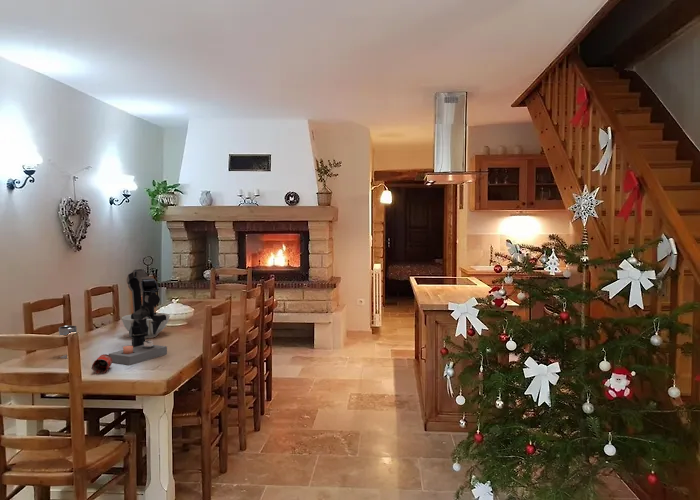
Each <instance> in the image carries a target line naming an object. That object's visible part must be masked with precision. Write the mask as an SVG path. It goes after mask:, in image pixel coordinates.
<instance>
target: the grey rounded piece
mask: <svg viewBox="0 0 700 500" xmlns="http://www.w3.org/2000/svg"><path fill="white" fill-rule="evenodd" d="M153 345H154V340H145V341H144V348H145V349H150V348H153Z"/></svg>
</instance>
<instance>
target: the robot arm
mask: <svg viewBox="0 0 700 500" xmlns="http://www.w3.org/2000/svg"><path fill="white" fill-rule="evenodd" d="M126 284H127V287H128V288H129V291H131V299H132V309H133V310H132V311H133V312H132V313H131V314H132V315H131V314H130V315H131V319H133V321H132V323H131V327H130V330H129V331H128V337H129V338H131V346H133V347H137V346H140V345H144V341H146V338H145V336H147V335H148V329H149V327H148V325H147V322H146V320H147V319H152V320H153V321H152V322H151V323H152V325H153V334H156V332H157V330H158V327H159V325H160V324H161V322H163V321H164V320H166V315H163V314H158V315H156V313H157V312H155V307H157V305H158V304H159V303H160V301H161V298H160V296H159V295H158V294H156V293H159V290H160V288H159V284H158V282H157V280H156V279H155V278H154V277H152V276H151V277H150V276H149V275H148V274H147V273H146V272H145V269H142V268H141V269H140V268H139V269H137V268H136V269H134V270H133V271H132V272H130V273H128V275H127V277H126ZM146 318H147V319H146Z"/></svg>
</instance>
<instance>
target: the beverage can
mask: <svg viewBox="0 0 700 500" xmlns="http://www.w3.org/2000/svg"><path fill="white" fill-rule="evenodd" d="M112 364H113V363H112V358H111V357H110V356H109V354H101V355H99V356H98V357H97V359H95V360H94V361H93V363H92V364H91V370H92V371H93V372H94V373H95V374H97V375H100V374H105V373H106V372H108V370H109V369H110V367H111V366H112ZM103 369H105V370H103ZM102 371H103V372H102ZM101 372H102V373H101Z"/></svg>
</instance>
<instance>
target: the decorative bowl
mask: <svg viewBox="0 0 700 500" xmlns="http://www.w3.org/2000/svg"><path fill="white" fill-rule="evenodd" d="M155 313H156V315H158V314H163V315H166V320H164V321H163V322H161V324H160V325H159V327H158V330H157V332H156V334H153V325H152V323H151V322H152V321H153V320H152V319H147V318H146V319H147V320H146V322H147V325H148V327H149V329H148V335H147V336H145V339H151V338H152V339H153V338H156V337H157V336H158V334H159V333H161V332H162V331H163V330H164V329H165V328H166V326H167V324H168V323H169V320H170V316H171V315H170V314H168V313H165V312H155ZM131 315H132V313H131V314H126V315H123V316H122V317H121V322H122V324H123V327H124V328H125V329H126V331H127V332H129V330H130V327H131V323H132V321H133V319H131Z"/></svg>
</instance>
